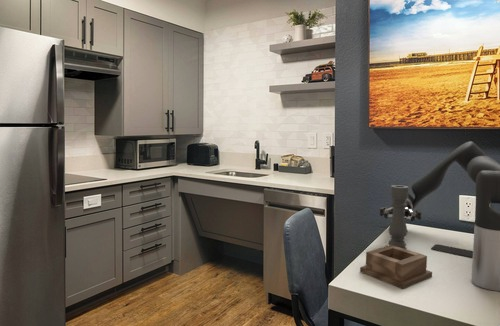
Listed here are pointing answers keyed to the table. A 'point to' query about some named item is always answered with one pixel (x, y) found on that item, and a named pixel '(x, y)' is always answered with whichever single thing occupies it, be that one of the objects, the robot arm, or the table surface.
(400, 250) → the socket block
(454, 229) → the table surface
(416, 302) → the table surface
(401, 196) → the candle holder
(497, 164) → the robot arm
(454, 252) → the phone
